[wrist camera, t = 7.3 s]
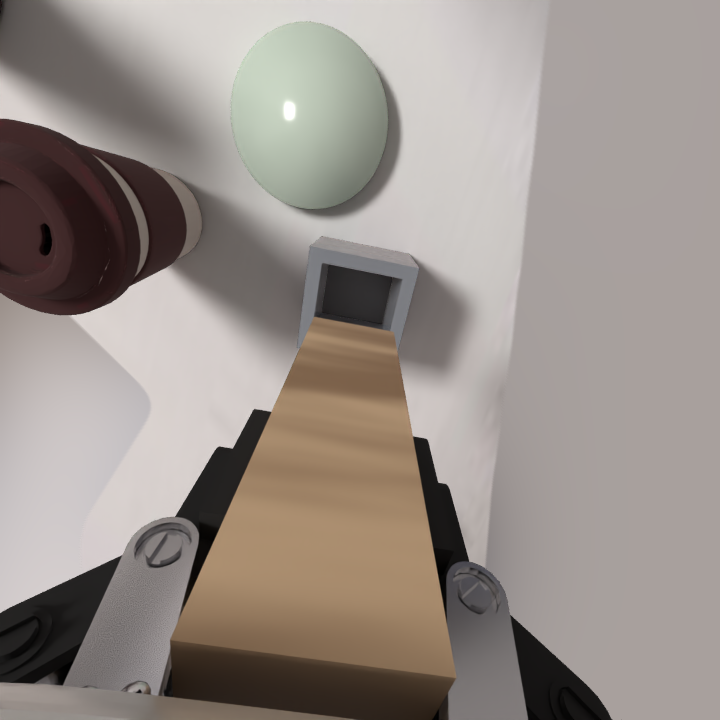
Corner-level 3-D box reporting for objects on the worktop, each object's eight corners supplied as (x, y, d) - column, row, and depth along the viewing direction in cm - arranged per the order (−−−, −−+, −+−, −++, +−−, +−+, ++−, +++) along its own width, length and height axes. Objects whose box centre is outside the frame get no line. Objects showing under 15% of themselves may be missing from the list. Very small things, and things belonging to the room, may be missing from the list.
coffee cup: (80, 197, 31) (-147, 198, 17) (160, 122, 29) (-30, 55, 15) (164, 292, 34) (29, 356, 21) (242, 233, 32) (147, 260, 18)
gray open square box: (321, 236, 32) (310, 245, 25) (409, 253, 32) (419, 268, 26) (309, 320, 35) (296, 347, 29) (389, 335, 36) (394, 365, 29)
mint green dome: (239, 10, 26) (234, 2, 24) (403, 50, 26) (405, 43, 25) (232, 192, 30) (227, 192, 29) (370, 221, 31) (370, 222, 30)
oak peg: (314, 316, 18) (170, 639, 5) (393, 332, 18) (456, 677, 5) (304, 386, 19) (176, 764, 6) (376, 399, 19) (392, 788, 7)
